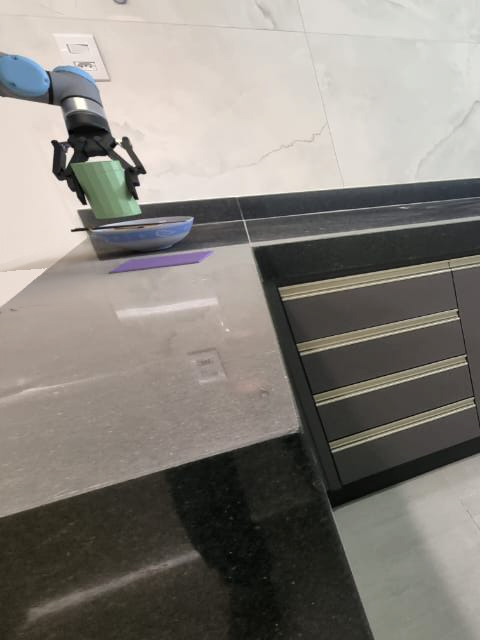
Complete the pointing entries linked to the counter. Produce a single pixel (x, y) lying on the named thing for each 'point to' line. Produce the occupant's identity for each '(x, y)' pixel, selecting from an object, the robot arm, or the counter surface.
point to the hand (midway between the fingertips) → (109, 198)
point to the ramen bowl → (144, 233)
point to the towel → (162, 261)
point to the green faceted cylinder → (106, 189)
